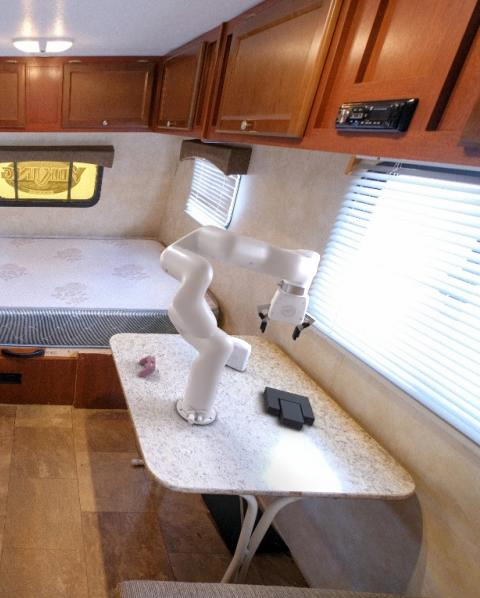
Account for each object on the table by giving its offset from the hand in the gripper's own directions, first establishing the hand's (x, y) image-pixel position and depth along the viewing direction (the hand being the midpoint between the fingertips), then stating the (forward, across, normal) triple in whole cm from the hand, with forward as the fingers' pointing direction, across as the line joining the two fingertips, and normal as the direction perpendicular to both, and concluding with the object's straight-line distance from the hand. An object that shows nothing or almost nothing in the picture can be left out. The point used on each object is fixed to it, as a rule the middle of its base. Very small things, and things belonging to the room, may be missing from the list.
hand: (277, 334), depth 122 cm
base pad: (+26, +10, -3) cm, 27 cm away
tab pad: (+26, +10, -8) cm, 29 cm away
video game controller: (+26, -40, -4) cm, 48 cm away
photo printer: (+26, -9, +17) cm, 32 cm away
